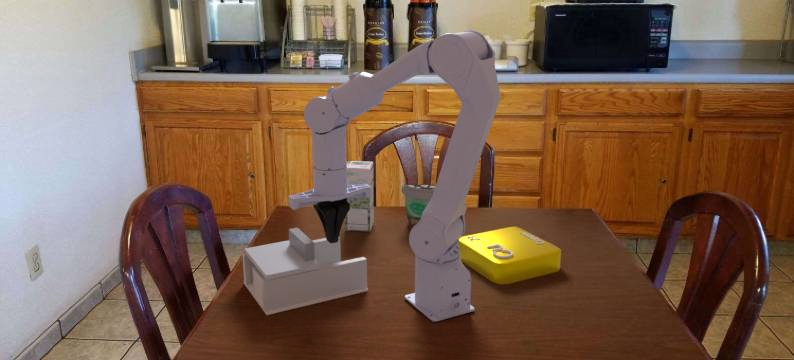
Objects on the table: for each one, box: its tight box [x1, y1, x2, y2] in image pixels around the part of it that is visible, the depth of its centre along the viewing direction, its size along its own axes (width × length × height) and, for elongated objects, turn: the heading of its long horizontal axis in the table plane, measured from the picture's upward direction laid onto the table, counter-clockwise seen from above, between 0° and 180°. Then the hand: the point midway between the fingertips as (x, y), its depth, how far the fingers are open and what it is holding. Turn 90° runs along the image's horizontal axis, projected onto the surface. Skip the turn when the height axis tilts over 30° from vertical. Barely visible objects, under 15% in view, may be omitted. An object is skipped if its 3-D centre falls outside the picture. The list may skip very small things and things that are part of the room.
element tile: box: [458, 226, 562, 285], centre depth 121 cm, size 15×15×5 cm
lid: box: [244, 227, 320, 280], centre depth 107 cm, size 12×9×4 cm
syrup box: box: [344, 160, 375, 233], centre depth 137 cm, size 6×6×14 cm
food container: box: [400, 179, 436, 231], centre depth 136 cm, size 12×6×10 cm, turn 73°
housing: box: [241, 236, 369, 316], centre depth 110 cm, size 13×18×6 cm
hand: (332, 241), depth 111 cm, fingers closed
